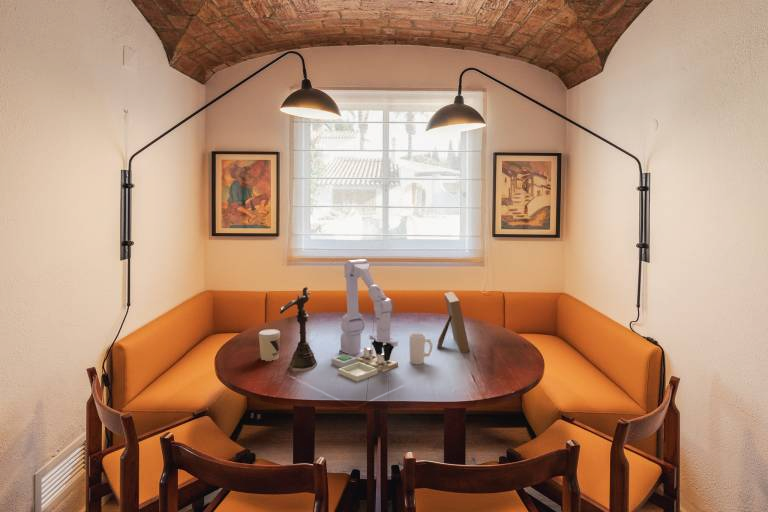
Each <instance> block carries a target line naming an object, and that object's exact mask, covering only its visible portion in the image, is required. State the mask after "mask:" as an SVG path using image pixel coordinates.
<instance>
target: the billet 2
mask: <svg viewBox="0 0 768 512" xmlns="http://www.w3.org/2000/svg"><path fill="white" fill-rule="evenodd" d="M377 364H379V365H382V366H385V365H388V364H387V361H385V358H384V352H383V351H382V352H381V353H378V354H377Z"/></svg>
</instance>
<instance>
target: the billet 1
mask: <svg viewBox="0 0 768 512" xmlns="http://www.w3.org/2000/svg"><path fill="white" fill-rule="evenodd" d="M363 350H364V351H363V354H364V359H365V360H371V359H373V354H374V347H370V346H367V347H363Z"/></svg>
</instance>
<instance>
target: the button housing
mask: <svg viewBox="0 0 768 512" xmlns="http://www.w3.org/2000/svg"><path fill="white" fill-rule="evenodd" d="M341 356H349V360H346V361H341V360H339V357H341ZM355 357H356V356H352V355H350V354H347V353H344V354H341V355H338V356H334V357H331V365H333V366H336V367H339V368H342V367H345V366H348V365H351V364H354V363H357V358H355Z"/></svg>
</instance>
